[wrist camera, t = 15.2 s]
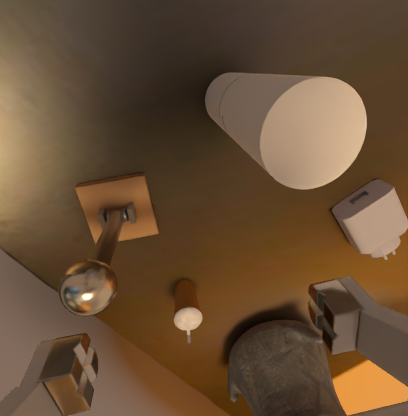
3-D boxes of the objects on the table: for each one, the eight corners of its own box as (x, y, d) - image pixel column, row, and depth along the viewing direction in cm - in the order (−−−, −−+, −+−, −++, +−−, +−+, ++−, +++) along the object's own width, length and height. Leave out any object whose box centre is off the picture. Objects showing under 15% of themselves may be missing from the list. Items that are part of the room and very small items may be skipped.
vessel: (260, 389, 70) (295, 499, 52) (202, 345, 61) (219, 459, 43) (337, 340, 66) (403, 441, 49) (287, 286, 58) (345, 384, 40)
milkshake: (172, 299, 55) (174, 344, 46) (171, 276, 53) (174, 318, 44) (196, 297, 56) (203, 341, 47) (196, 274, 53) (204, 316, 44)
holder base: (77, 184, 43) (70, 194, 40) (144, 172, 44) (143, 180, 41) (97, 241, 48) (92, 254, 44) (158, 229, 48) (158, 241, 45)
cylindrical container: (214, 133, 43) (273, 203, 21) (197, 83, 40) (247, 102, 17) (260, 116, 43) (370, 167, 20) (247, 64, 40) (361, 58, 17)
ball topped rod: (41, 286, 24) (61, 334, 25) (103, 274, 24) (119, 321, 26) (97, 201, 43) (106, 231, 45) (131, 195, 44) (139, 225, 45)
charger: (360, 262, 57) (329, 208, 51) (402, 235, 56) (376, 177, 50) (376, 277, 53) (344, 221, 47) (422, 249, 52) (396, 187, 46)
